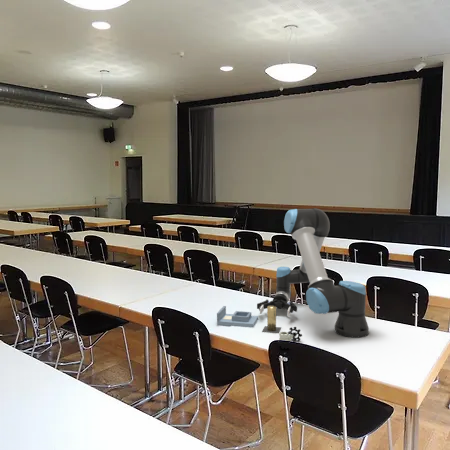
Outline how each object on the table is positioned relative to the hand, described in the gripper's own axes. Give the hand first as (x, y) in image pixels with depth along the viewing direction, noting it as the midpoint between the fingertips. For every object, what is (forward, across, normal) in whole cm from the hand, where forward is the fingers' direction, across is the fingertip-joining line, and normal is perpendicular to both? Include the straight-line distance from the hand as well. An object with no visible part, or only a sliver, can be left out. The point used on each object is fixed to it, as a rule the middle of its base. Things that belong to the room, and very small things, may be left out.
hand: (274, 312), depth 211 cm
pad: (+9, 0, -6) cm, 11 cm away
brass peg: (+9, 0, -6) cm, 10 cm away
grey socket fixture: (+2, +18, -6) cm, 19 cm away
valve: (+24, -10, -6) cm, 27 cm away
